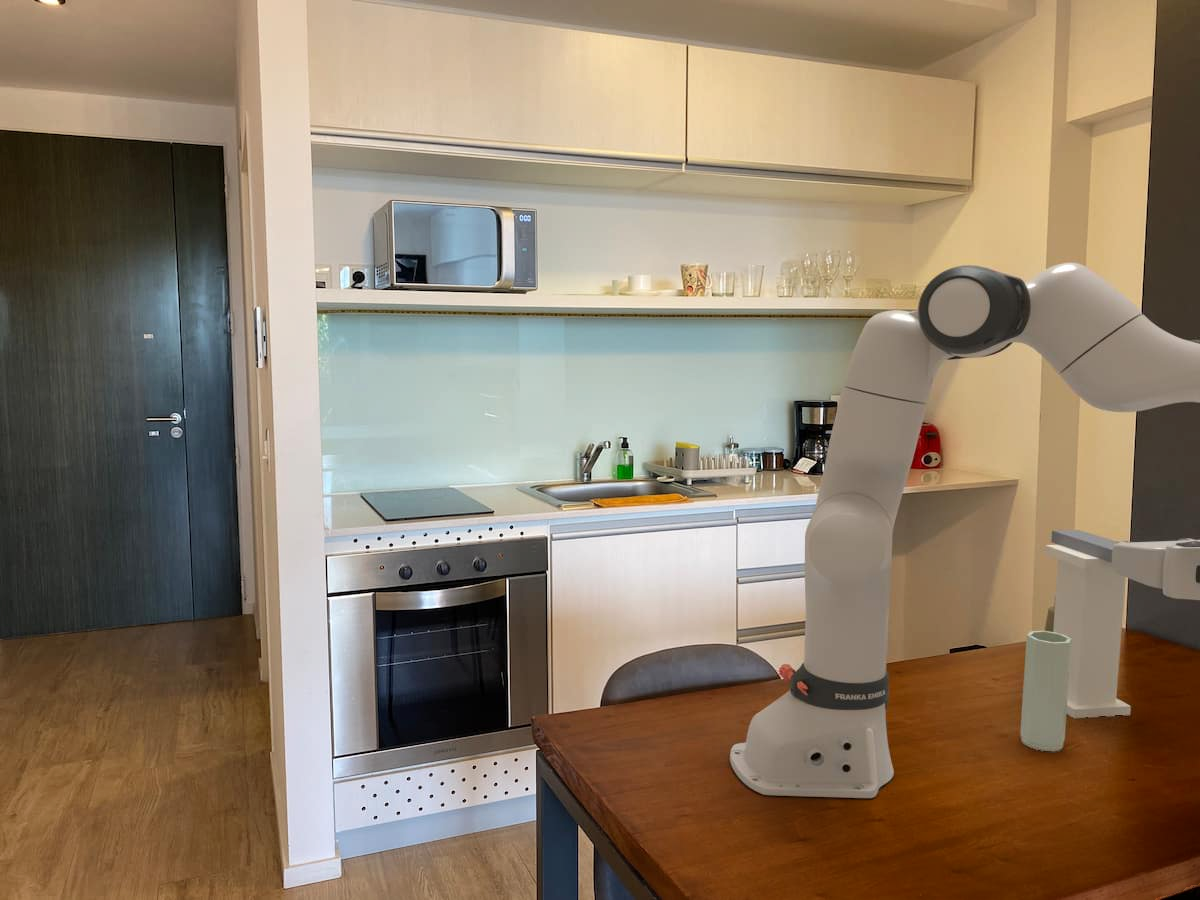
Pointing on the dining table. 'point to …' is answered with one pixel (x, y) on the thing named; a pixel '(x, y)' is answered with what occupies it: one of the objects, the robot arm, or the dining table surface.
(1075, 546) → the cover
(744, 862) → the dining table surface
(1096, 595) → the stand
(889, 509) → the robot arm
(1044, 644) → the jar
